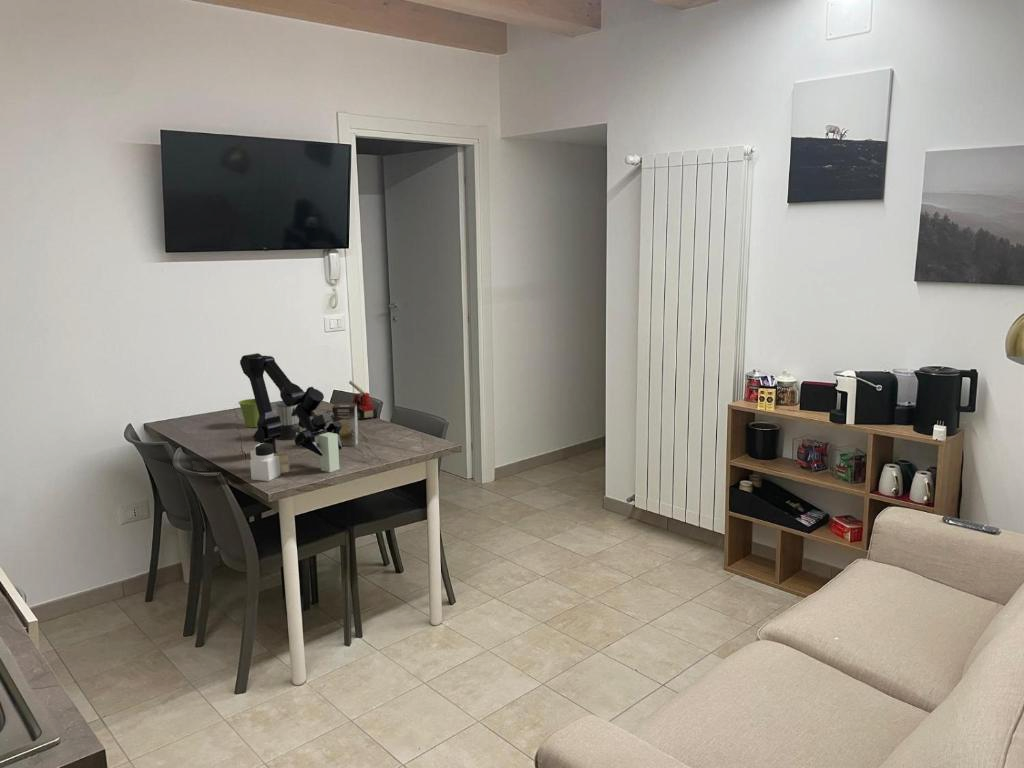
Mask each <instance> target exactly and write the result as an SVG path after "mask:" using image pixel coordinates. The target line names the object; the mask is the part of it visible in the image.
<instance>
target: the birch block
mask: <svg viewBox="0 0 1024 768" xmlns="http://www.w3.org/2000/svg"><path fill="white" fill-rule="evenodd" d="M273 456H279V462H280V474H284V473H288V472H290V463H289V455H288V454H287V453H286V452H284V451H283V452H277V453H276V454H274V455H273Z"/></svg>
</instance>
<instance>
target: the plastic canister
mask: <svg viewBox="0 0 1024 768" xmlns="http://www.w3.org/2000/svg"><path fill="white" fill-rule="evenodd" d="M249 453H250V460H252V459H254V458H256V457H255V448H253V449H251V450H249Z"/></svg>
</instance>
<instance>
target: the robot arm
mask: <svg viewBox="0 0 1024 768" xmlns="http://www.w3.org/2000/svg"><path fill="white" fill-rule="evenodd" d="M239 365H240V367H241V370H242V372H243V374H244V375H245V376H246V377H247V378H248V379H249V382H250V385H251V389H252V393H253V397H254V399H255V401H256V405H257V409H258V412H259V419H258V422H257V427H256V428H257V430H256V431H255V433H254V434H253V436H252V437H253V440H254V441H253V442H255V443H256V442H257V443H259V444H261V443H270V444H272V445H273V454H276V453H278V450H277V445H276V439H279V438H280V436H281V431H282V423H281V420H280V417H279V415H278V416H277V414H275V413H274V412H273V409H272V405H271V401H270V397H269V393H268V389H267V385H266V382H265V379H264V374H265V373H266V375H267V376H268V377H269V378H270V379H271V381H272V382H273V384H274V385H275V386H276V387H277V388H278V391H279V396H280V399H281V401H283V402H284V404H285V405H286V406H289V407H291V406H295V405H297V407H296V408H294V409H292V417H293V416H297V417H298V418H299V420H300V421H301V423H302V424H303V425H302V426H301V427H300V428H301V429H305V430H303V431H301V430H300V433H299V434H298V436H297V437H296V438H295V439H294V443H295V445H296V447H297V448H298V447H301V448H303V449H307V450H309V451H311V452H313V453H315V454H316V455H318V456H319V457H320V456H322V455H323V453H322V451H321V449H320V448H319V444H318V443H317V442H316V439H315V438H317V437H319V435H321V434H324V433H328V432H330V433H335V434H338V450H339V451H340V450H342V449H343V446H342V445H341V441H340V437H339V431H340V430H341V428H342V427H343V426H342V424H341V423H340V422H339V421H336V422H333V418H334V414H333V412H332V410H331V409H329V410H327V411H324V413H322V414H317V413H315V411H316V410H317V408H318V407H319V406H320V404H321V403H322V402H323V401H324V399H325V395H324V394H323V392H322V391H320V390H319V389H317V388H314V386H310V387H309V386H308V388H306V389H305V391H304V390H303V389H302V388H301V387H300V386H299V385H298V384H295V383H293V382H292V381H291V380H290V379H289V378H288V376H287V375H286V374H285V372H284V371H283V370H282V368H281V367H280V366H279V365H278V363H277V362H276V360H275V358H274V357H273V356H271V355H263V354H261V353H251V354H245V355H242V356H241V358H240V360H239ZM329 422H331V423H329ZM328 423H329V424H328ZM327 425H328V426H327ZM326 426H327V427H326Z"/></svg>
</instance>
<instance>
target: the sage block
mask: <svg viewBox="0 0 1024 768" xmlns="http://www.w3.org/2000/svg"><path fill="white" fill-rule="evenodd" d="M318 446H319V448H320V449H321V451H322V453H323V455H322V456H320V455H319V459H320V461H319V462H320V471H323V472H328V473H332V472H334V471H338V470H340V458H339V457H340V453H339V452H340V451H339V448H338V434H335V433H330V432H328V433H324V434H321V435H319V436H318Z"/></svg>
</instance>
